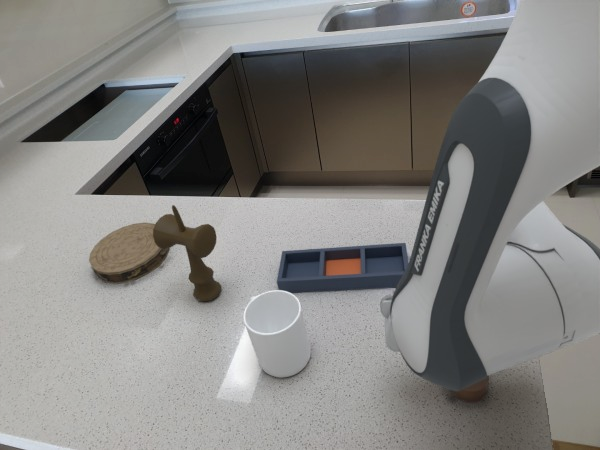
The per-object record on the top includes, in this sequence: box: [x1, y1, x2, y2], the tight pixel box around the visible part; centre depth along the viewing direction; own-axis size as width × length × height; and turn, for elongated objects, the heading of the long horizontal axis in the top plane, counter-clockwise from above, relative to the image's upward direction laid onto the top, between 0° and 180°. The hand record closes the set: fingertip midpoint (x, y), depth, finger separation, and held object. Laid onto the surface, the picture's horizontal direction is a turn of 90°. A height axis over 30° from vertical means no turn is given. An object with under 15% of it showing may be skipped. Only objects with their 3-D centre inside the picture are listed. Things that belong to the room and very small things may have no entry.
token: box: [449, 375, 490, 403], centre depth 61 cm, size 5×5×2 cm
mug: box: [242, 289, 312, 378], centre depth 69 cm, size 12×8×10 cm
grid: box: [276, 242, 409, 294], centre depth 82 cm, size 8×23×3 cm, turn 85°
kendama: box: [153, 204, 222, 302], centre depth 79 cm, size 6×10×20 cm, turn 61°
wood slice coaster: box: [88, 222, 170, 284], centre depth 97 cm, size 16×16×3 cm
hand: (465, 361), depth 60 cm, fingers open, 8 cm apart
